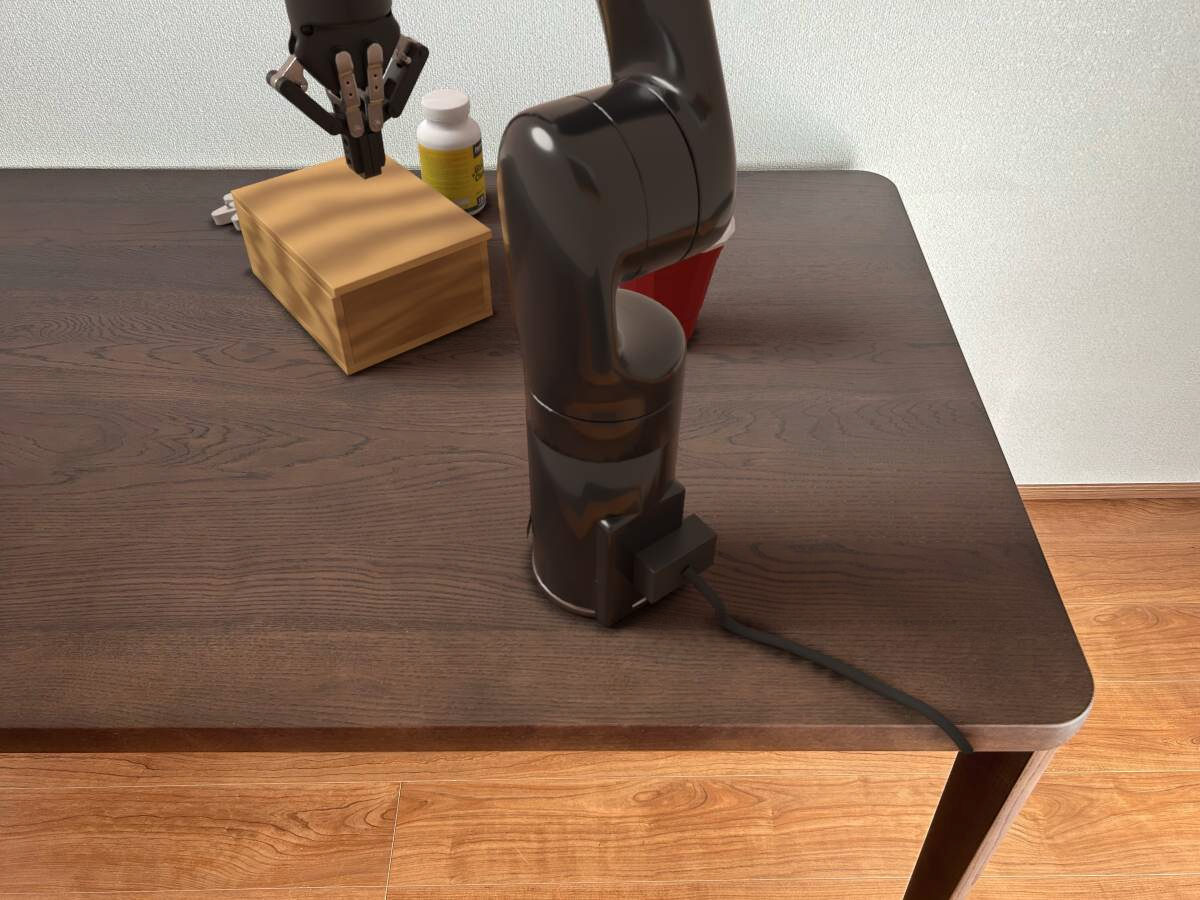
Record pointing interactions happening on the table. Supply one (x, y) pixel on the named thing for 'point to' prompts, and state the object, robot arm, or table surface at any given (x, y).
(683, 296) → the plastic cup
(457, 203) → the pill bottle
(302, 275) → the chest
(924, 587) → the table surface
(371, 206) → the lid
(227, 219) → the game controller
